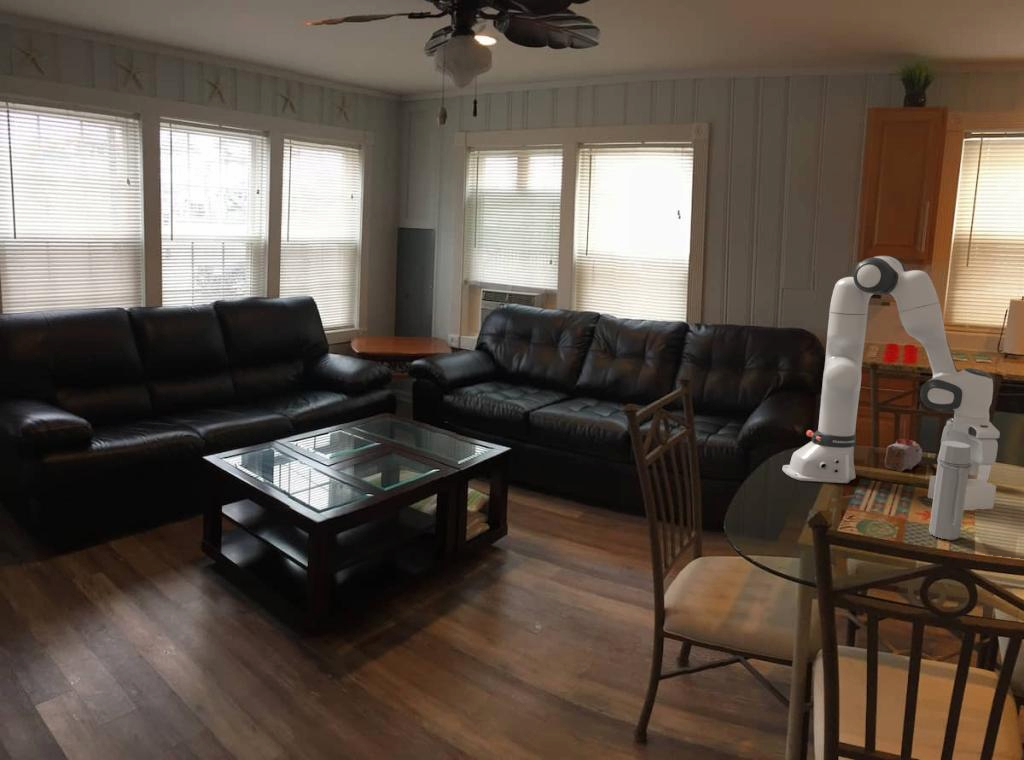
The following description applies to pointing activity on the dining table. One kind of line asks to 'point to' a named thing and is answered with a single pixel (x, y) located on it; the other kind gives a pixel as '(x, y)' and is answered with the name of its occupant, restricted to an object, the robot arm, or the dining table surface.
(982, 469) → the white cup
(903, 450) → the food item
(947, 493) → the water bottle
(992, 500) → the white square block
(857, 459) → the dining table surface
